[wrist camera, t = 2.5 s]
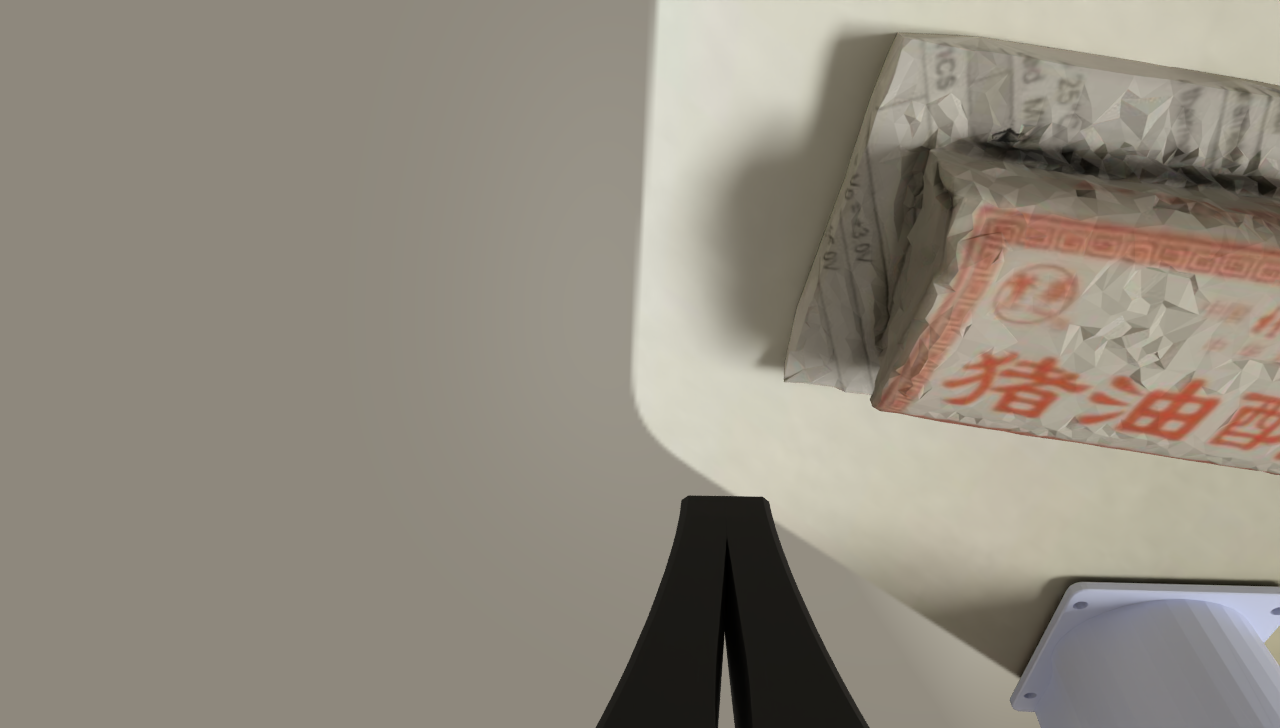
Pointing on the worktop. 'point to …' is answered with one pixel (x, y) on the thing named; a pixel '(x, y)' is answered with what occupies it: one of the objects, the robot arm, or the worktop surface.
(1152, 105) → the packaged product
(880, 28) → the worktop surface
